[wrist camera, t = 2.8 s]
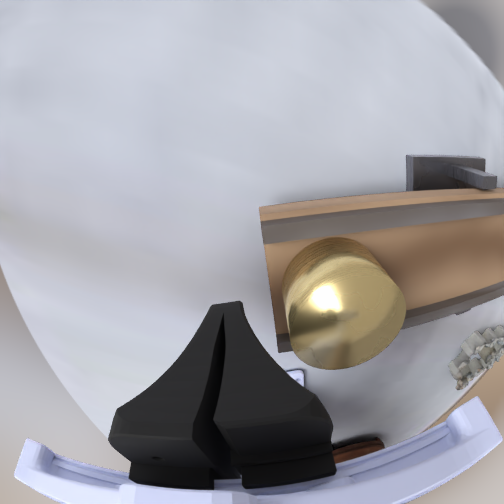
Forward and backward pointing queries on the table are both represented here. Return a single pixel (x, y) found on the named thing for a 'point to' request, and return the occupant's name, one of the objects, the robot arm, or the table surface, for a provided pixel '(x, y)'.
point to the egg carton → (486, 346)
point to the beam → (400, 245)
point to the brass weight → (340, 304)
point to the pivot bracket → (447, 174)
